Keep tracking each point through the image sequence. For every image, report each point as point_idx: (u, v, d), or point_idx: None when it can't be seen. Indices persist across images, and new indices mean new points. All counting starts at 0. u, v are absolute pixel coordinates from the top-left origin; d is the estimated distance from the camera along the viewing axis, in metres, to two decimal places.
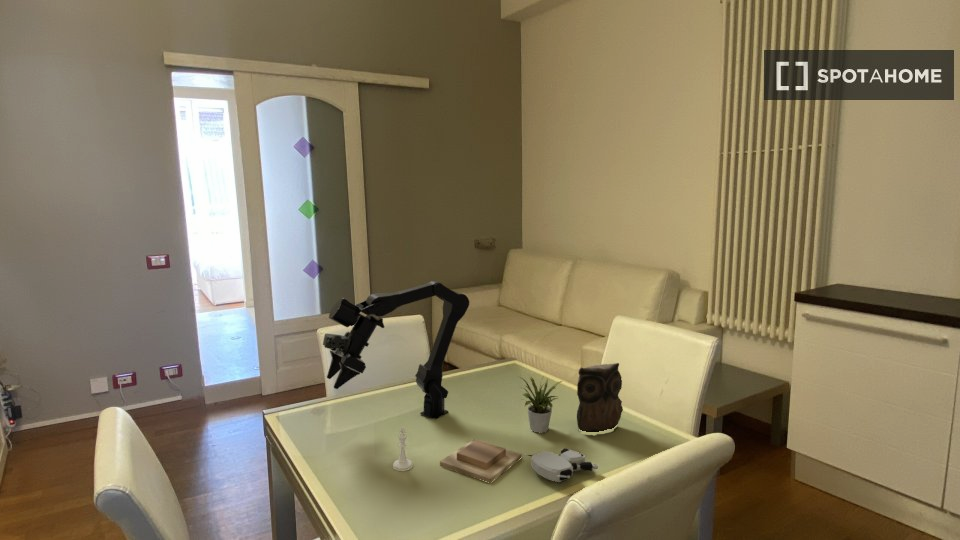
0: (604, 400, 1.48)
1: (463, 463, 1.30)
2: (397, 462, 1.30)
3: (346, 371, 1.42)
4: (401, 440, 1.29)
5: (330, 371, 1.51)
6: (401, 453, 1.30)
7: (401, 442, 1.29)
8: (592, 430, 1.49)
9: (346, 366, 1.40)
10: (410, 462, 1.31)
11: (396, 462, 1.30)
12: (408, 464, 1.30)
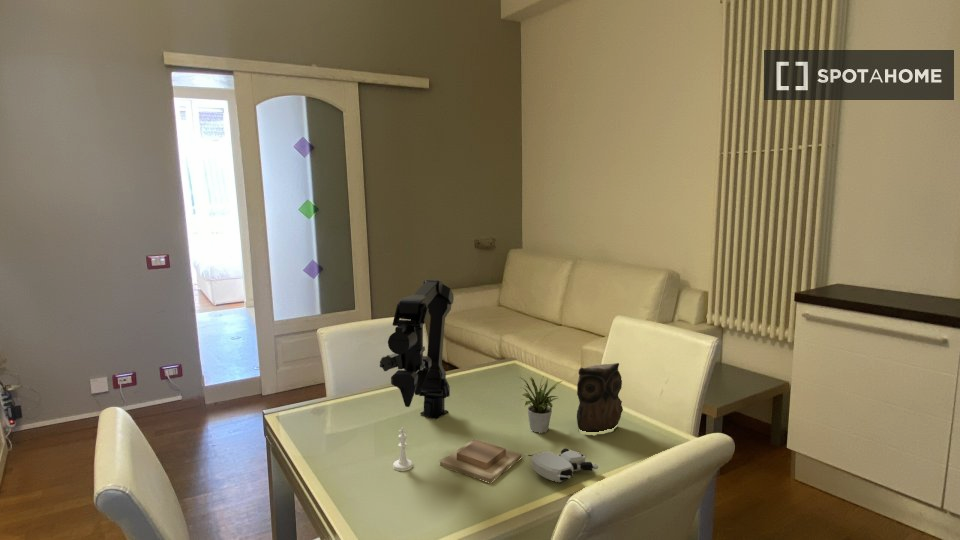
0: (604, 400, 1.48)
1: (463, 463, 1.30)
2: (397, 462, 1.30)
3: (405, 387, 1.36)
4: (401, 440, 1.29)
5: (415, 387, 1.46)
6: (401, 453, 1.30)
7: (401, 442, 1.29)
8: (592, 430, 1.49)
9: None
10: (410, 462, 1.31)
11: (396, 462, 1.30)
12: (408, 464, 1.30)
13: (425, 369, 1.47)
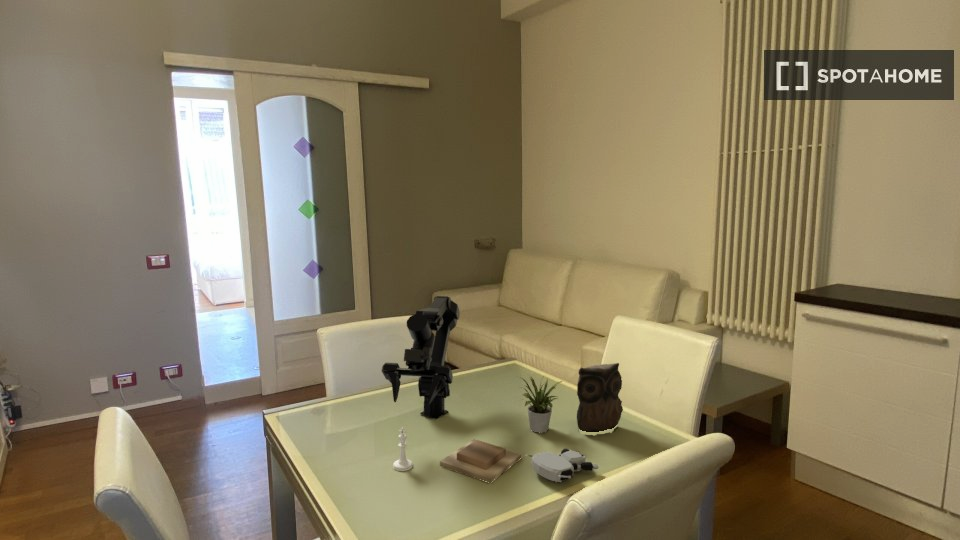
0: (604, 400, 1.48)
1: (463, 463, 1.30)
2: (397, 462, 1.30)
3: None
4: (401, 440, 1.29)
5: (396, 393, 1.38)
6: (401, 453, 1.30)
7: (401, 442, 1.29)
8: (592, 430, 1.49)
9: None
10: (410, 462, 1.31)
11: (396, 462, 1.30)
12: (408, 464, 1.30)
13: None
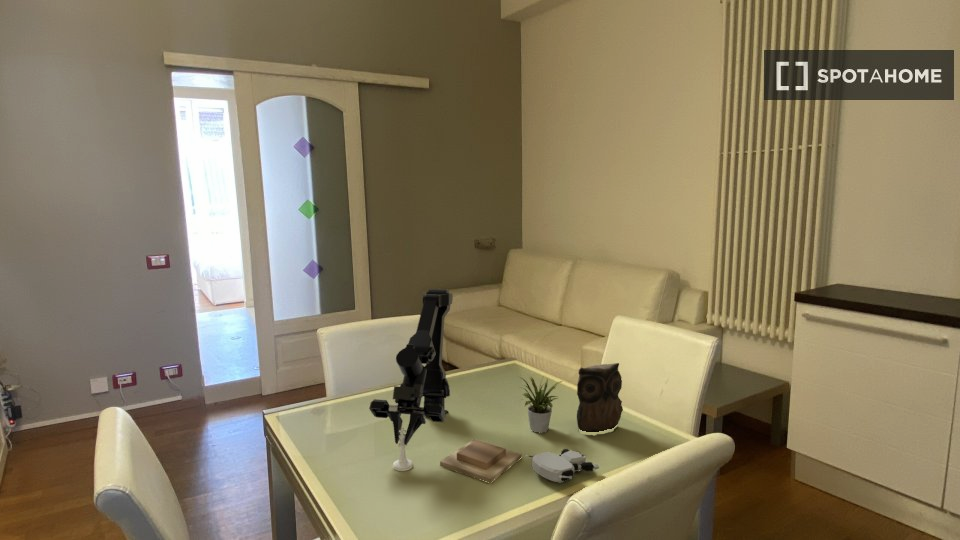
0: (604, 400, 1.48)
1: (463, 463, 1.30)
2: (397, 462, 1.30)
3: None
4: (401, 440, 1.29)
5: (398, 434, 1.29)
6: (401, 453, 1.30)
7: (401, 442, 1.29)
8: (592, 430, 1.49)
9: None
10: (410, 462, 1.31)
11: (396, 462, 1.30)
12: (408, 463, 1.30)
13: None
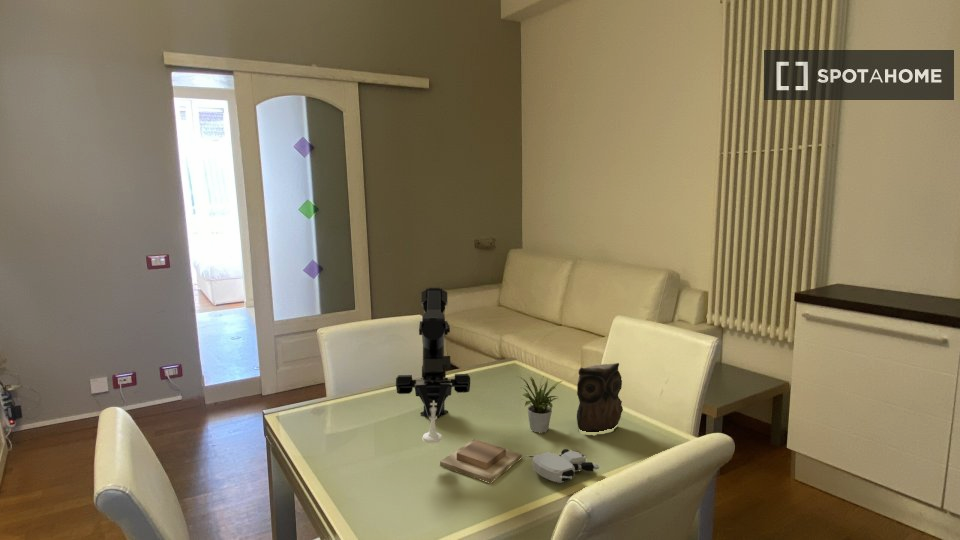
0: (604, 400, 1.48)
1: (463, 463, 1.30)
2: (427, 435, 1.30)
3: None
4: (433, 412, 1.29)
5: (429, 407, 1.29)
6: (432, 426, 1.30)
7: (432, 415, 1.29)
8: (592, 430, 1.49)
9: None
10: (439, 434, 1.31)
11: (426, 435, 1.30)
12: (439, 436, 1.30)
13: None
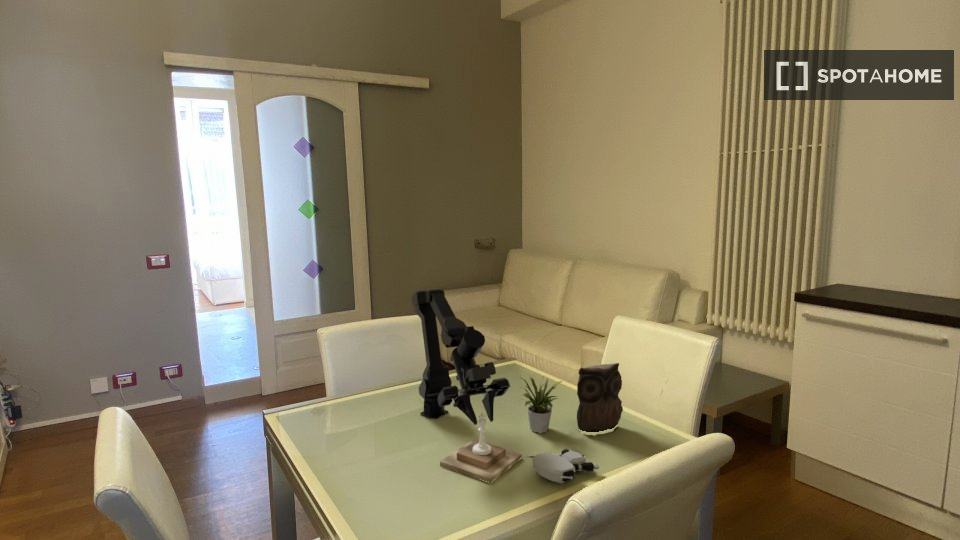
0: (604, 400, 1.48)
1: (463, 463, 1.30)
2: (478, 448, 1.32)
3: None
4: (483, 424, 1.31)
5: None
6: (482, 437, 1.32)
7: (482, 427, 1.31)
8: (592, 430, 1.49)
9: None
10: (487, 444, 1.34)
11: (477, 448, 1.32)
12: (488, 446, 1.33)
13: None
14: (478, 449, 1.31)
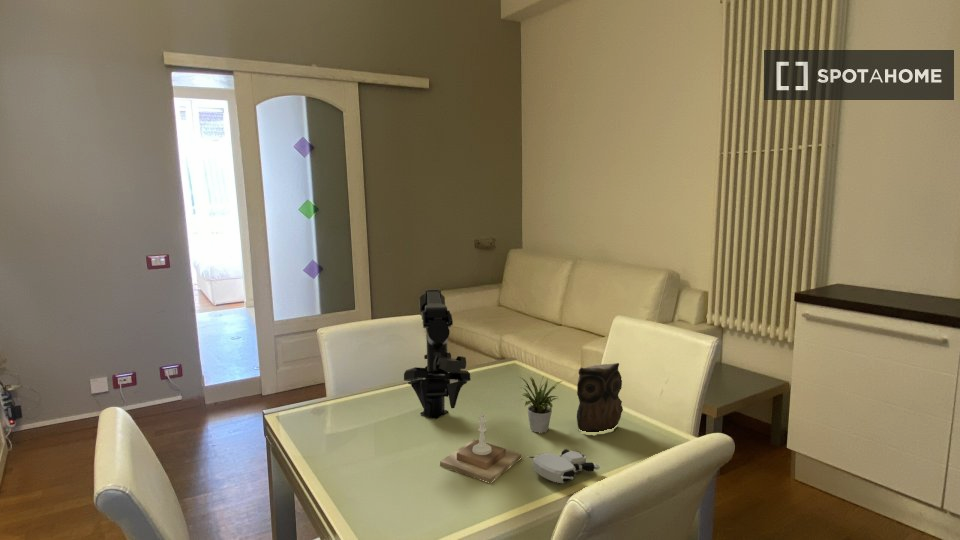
0: (604, 400, 1.48)
1: (463, 463, 1.30)
2: (478, 448, 1.32)
3: None
4: (483, 424, 1.31)
5: None
6: (482, 437, 1.32)
7: (482, 427, 1.31)
8: (592, 430, 1.49)
9: None
10: (487, 444, 1.34)
11: (477, 448, 1.32)
12: (488, 446, 1.33)
13: None
14: (478, 449, 1.31)
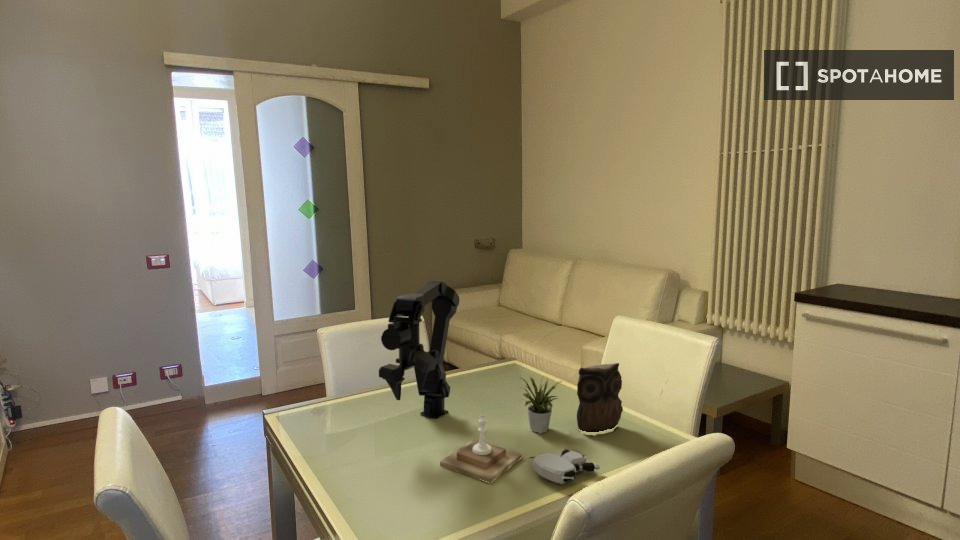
0: (604, 400, 1.48)
1: (463, 463, 1.30)
2: (478, 448, 1.32)
3: None
4: (483, 424, 1.31)
5: None
6: (482, 437, 1.32)
7: (482, 427, 1.31)
8: (592, 430, 1.49)
9: None
10: (487, 444, 1.34)
11: (477, 448, 1.32)
12: (488, 446, 1.33)
13: None
14: (478, 449, 1.31)
